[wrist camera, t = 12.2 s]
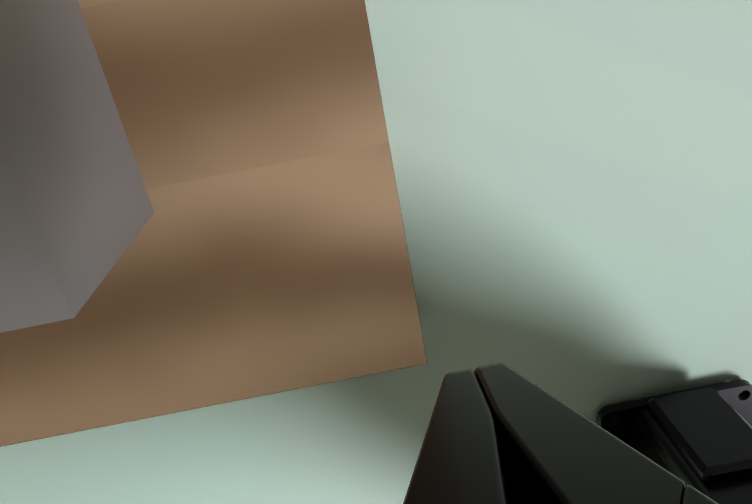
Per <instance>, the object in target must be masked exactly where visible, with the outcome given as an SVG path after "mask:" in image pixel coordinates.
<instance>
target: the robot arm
mask: <svg viewBox="0 0 752 504" xmlns="http://www.w3.org/2000/svg"><path fill="white" fill-rule="evenodd" d="M742 391H743V392H742ZM741 392H742V393H741ZM612 416H613V417H612ZM609 417H612V418H611V419H609V420H607V419H608V418H609ZM403 504H752V385H751V384H750V383H749V382H748V381H746V380H735V381H730V382H725V383H720V384H715V385H710V386H705V387H699V388H694V389H689V390H684V391H679V392H674V393H669V394H663V395H658V396H653V397H648V398H643V399H638V400H633V401H627V402H622V403H617V404H612V405H607V406H605V407H603V408H602V409H600V410H599V412H598V413H597V424H595V423H594V422H592V421H591V420H589V419H588V418H586V417H585V416H583V415H582V414H580V413H579V412H577V411H575V410H574V409H572V408H571V407H569V406H568V405H566V404H565V403H563V402H562V401H560V400H559V399H557V398H556V397H554V396H553V395H551V394H550V393H548V392H546V391H545V390H543V389H542V388H540V387H539V386H537V385H536V384H534V383H533V382H531V381H530V380H528V379H527V378H525V377H524V376H522V375H521V374H519V373H517V372H516V371H514V370H513V369H511V368H510V367H508V366H507V365H505V364H503V363H495V364H490V365H486V366H481V367H477V368H476V369H475V372H474V371H473V370H471V369H466V370H462V371H457V372H452V373H448V374H446V375H445V377H444V379H443V383H442V386H441V389H440V392H439V395H438V398H437V401H436V404H435V407H434V410H433V413H432V416H431V419H430V423H429V426H428V429H427V432H426V435H425V438H424V441H423V444H422V447H421V450H420V453H419V456H418V459H417V463H416V466H415V469H414V472H413V475H412V478H411V481H410V484H409V487H408V490H407V493H406V496H405V499H404V503H403Z"/></svg>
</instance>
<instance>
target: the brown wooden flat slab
mask: <svg viewBox="0 0 752 504" xmlns="http://www.w3.org/2000/svg"><path fill="white" fill-rule="evenodd" d="M78 3H79V6H80V9H81V11H82V14H83V17H84V20H85V22H86V25H87V28H88V31H89V33H90V36H91V39H92V42H93V44H94V47H95V50H96V53H97V55H98V58H99V61H100V64H101V67H102V69H103V72H104V75H105V78H106V80H107V83H108V86H109V89H110V91H111V94H112V97H113V100H114V102H115V105H116V108H117V111H118V113H119V116H120V119H121V122H122V124H123V127H124V130H125V133H126V135H127V138H128V141H129V144H130V146H131V149H132V152H133V155H134V158H135V160H136V163H137V166H138V169H139V171H140V174H141V177H142V180H143V182H144V185H145V188H146V191H147V193H148V196H149V199H150V202H151V204H152V207H153V210H154V214H153V215H152V216H151V218H150V219H149V220H148V222H147V223H146V224H145V225H144V227H143V228H142V229H141V231H140V232H139V233H138V235H137V236H136V237H135V239H134V240H133V241H132V243H131V244H130V245H129V246H128V248H127V249H126V250H125V252H124V253H123V254H122V256H121V257H120V258H119V260H118V261H117V262H116V264H115V265H114V266H113V267H112V269H111V270H110V271H109V273H108V274H107V275H106V277H105V278H104V279H103V281H102V282H101V283H100V285H99V286H98V287H97V288H96V290H95V291H94V292H93V294H92V295H91V296H90V298H89V299H88V300H87V302H86V303H85V304H84V306H83V307H82V308H81V309H80V311H79V312H78V313H77V315H76V316H75V317H74V318H72V319H67V320H62V321H57V322H52V323H47V324H42V325H37V326H32V327H27V328H22V329H17V330H12V331H7V332H2V333H0V447H1V446H6V445H11V444H17V443H22V442H27V441H32V440H37V439H42V438H47V437H52V436H58V435H63V434H68V433H73V432H78V431H83V430H88V429H94V428H99V427H104V426H109V425H114V424H119V423H124V422H130V421H135V420H140V419H145V418H150V417H155V416H160V415H166V414H171V413H176V412H181V411H186V410H191V409H196V408H201V407H207V406H212V405H217V404H222V403H227V402H232V401H237V400H243V399H248V398H253V397H258V396H263V395H268V394H273V393H279V392H284V391H289V390H294V389H299V388H304V387H309V386H315V385H320V384H325V383H330V382H335V381H340V380H345V379H350V378H356V377H361V376H366V375H371V374H376V373H381V372H386V371H392V370H397V369H402V368H407V367H412V366H417V365H422V364H427V360H426V354H425V349H424V343H423V337H422V331H421V325H420V320H419V314H418V308H417V302H416V296H415V291H414V285H413V279H412V273H411V267H410V262H409V256H408V250H407V244H406V238H405V233H404V227H403V221H402V215H401V210H400V204H399V198H398V192H397V186H396V181H395V175H394V169H393V163H392V157H391V152H390V146H389V140H388V134H387V128H386V123H385V117H384V111H383V105H382V99H381V94H380V88H379V82H378V76H377V70H376V65H375V59H374V53H373V47H372V41H371V36H370V30H369V24H368V18H367V12H366V7H365V1H364V0H78Z"/></svg>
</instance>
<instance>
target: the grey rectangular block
mask: <svg viewBox="0 0 752 504" xmlns="http://www.w3.org/2000/svg"><path fill="white" fill-rule="evenodd" d="M153 214H154V210H153V207H152V204H151V202H150V199H149V196H148V193H147V191H146V188H145V185H144V182H143V180H142V177H141V174H140V171H139V169H138V166H137V163H136V160H135V158H134V155H133V152H132V149H131V146H130V144H129V141H128V138H127V135H126V133H125V130H124V127H123V124H122V122H121V119H120V116H119V113H118V111H117V108H116V105H115V102H114V100H113V97H112V94H111V91H110V89H109V86H108V83H107V80H106V78H105V75H104V72H103V69H102V67H101V64H100V61H99V58H98V55H97V53H96V50H95V47H94V44H93V42H92V39H91V36H90V33H89V31H88V28H87V25H86V22H85V20H84V17H83V14H82V11H81V9H80V6H79V3H78V0H0V333H2V332H7V331H12V330H17V329H22V328H27V327H32V326H37V325H42V324H47V323H52V322H57V321H62V320H67V319H72V318H74V317H75V316H76V315H77V313H78V312H79V311H80V309H81V308H82V307H83V306H84V304H85V303H86V302H87V300H88V299H89V298H90V296H91V295H92V294H93V292H94V291H95V290H96V288H97V287H98V286H99V285H100V283H101V282H102V281H103V279H104V278H105V277H106V275H107V274H108V273H109V271H110V270H111V269H112V267H113V266H114V265H115V264H116V262H117V261H118V260H119V258H120V257H121V256H122V254H123V253H124V252H125V250H126V249H127V248H128V246H129V245H130V244H131V243H132V241H133V240H134V239H135V237H136V236H137V235H138V233H139V232H140V231H141V229H142V228H143V227H144V225H145V224H146V223H147V222H148V220H149V219H150V218H151V216H152V215H153Z"/></svg>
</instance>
